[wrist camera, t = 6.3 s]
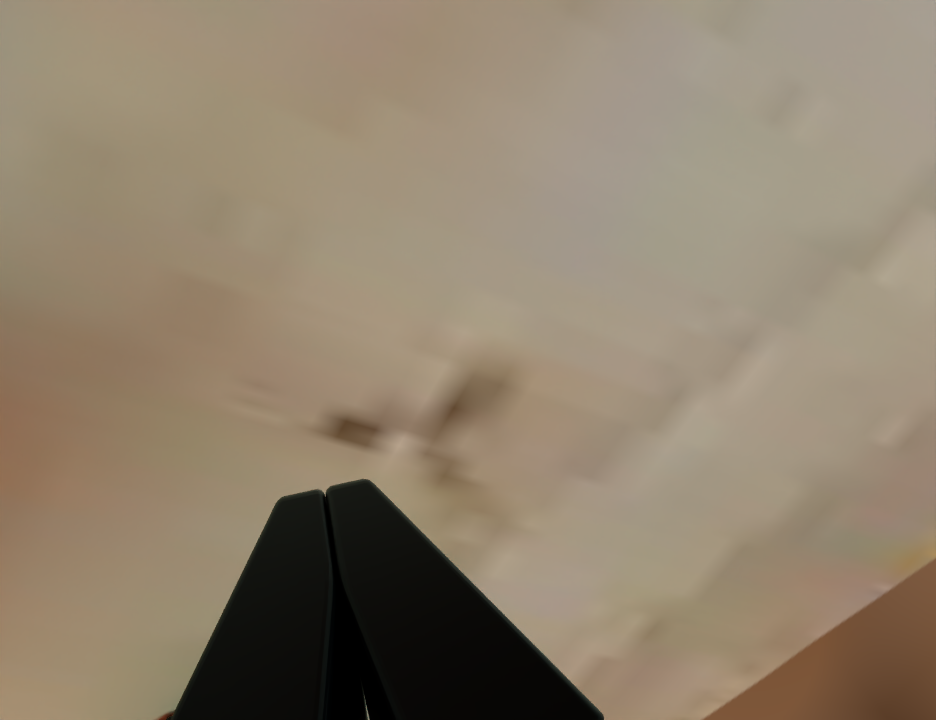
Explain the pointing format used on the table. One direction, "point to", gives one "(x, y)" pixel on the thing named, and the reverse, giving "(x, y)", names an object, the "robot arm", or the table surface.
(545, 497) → the table surface
